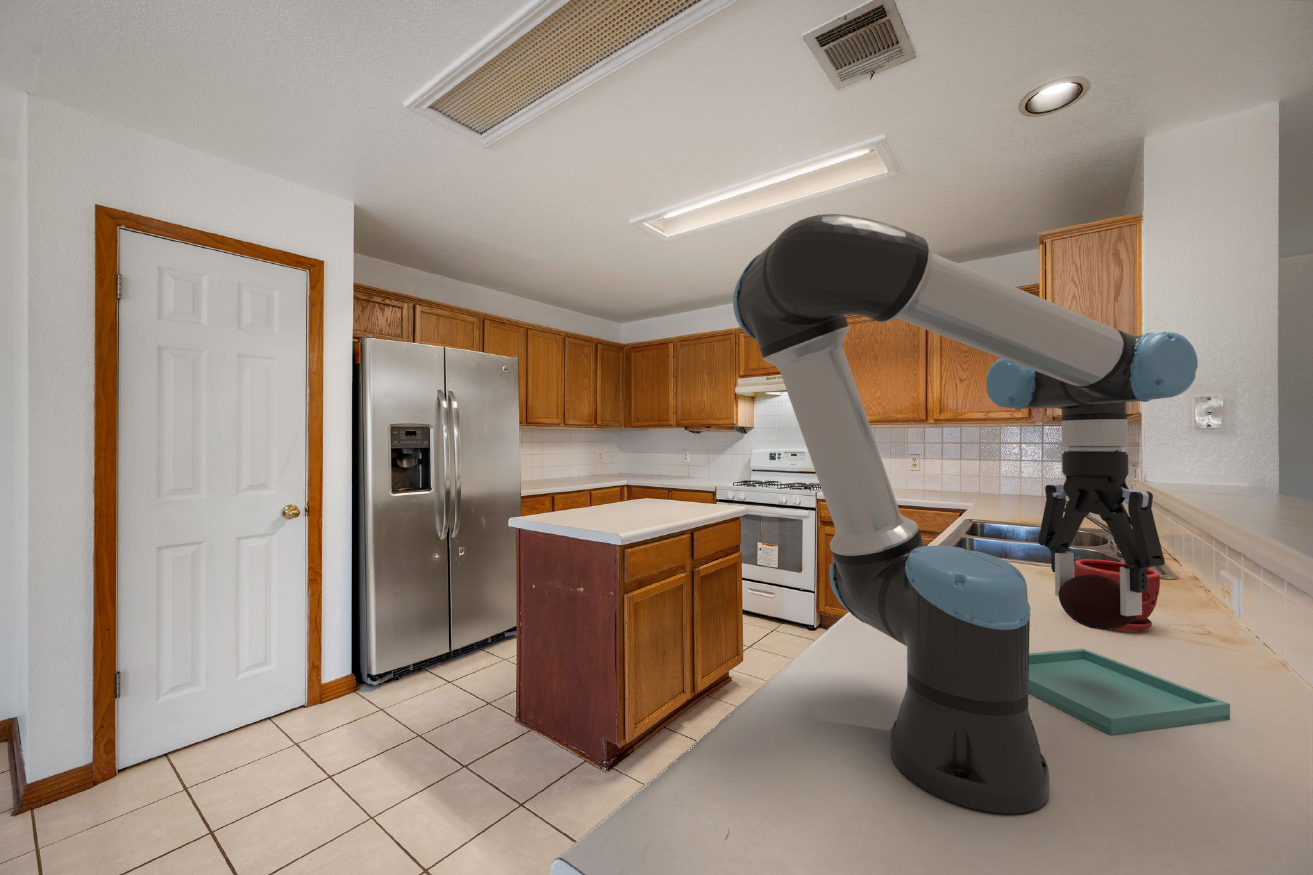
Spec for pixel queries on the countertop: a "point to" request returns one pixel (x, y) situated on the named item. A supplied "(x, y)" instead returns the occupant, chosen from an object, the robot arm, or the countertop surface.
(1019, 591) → the robot arm
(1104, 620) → the dark brown oval
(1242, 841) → the countertop surface
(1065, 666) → the teal tray
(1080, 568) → the plant pot
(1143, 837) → the countertop surface
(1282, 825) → the countertop surface
